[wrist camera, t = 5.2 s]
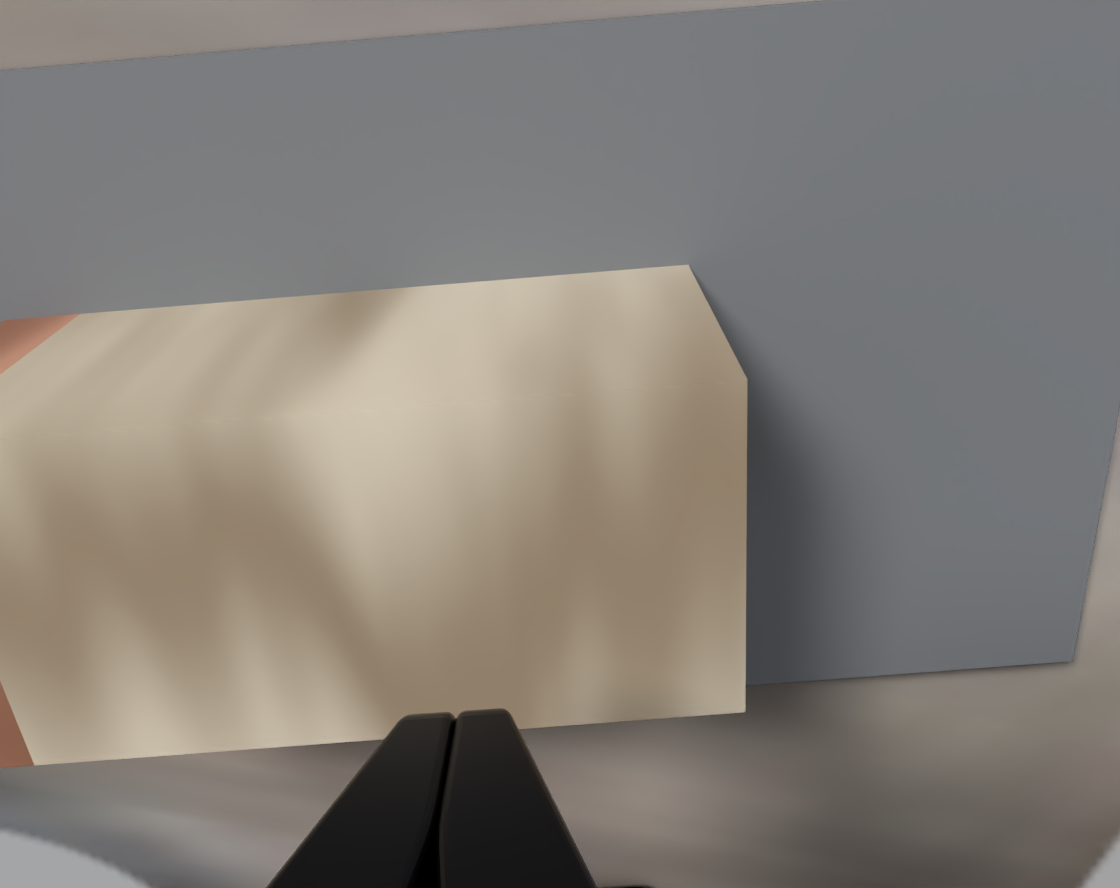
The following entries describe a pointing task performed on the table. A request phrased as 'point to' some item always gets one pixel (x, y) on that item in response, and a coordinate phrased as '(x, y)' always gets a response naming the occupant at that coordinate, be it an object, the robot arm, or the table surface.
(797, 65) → the rubber mat
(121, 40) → the table surface
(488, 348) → the beech block
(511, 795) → the robot arm
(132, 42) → the table surface
